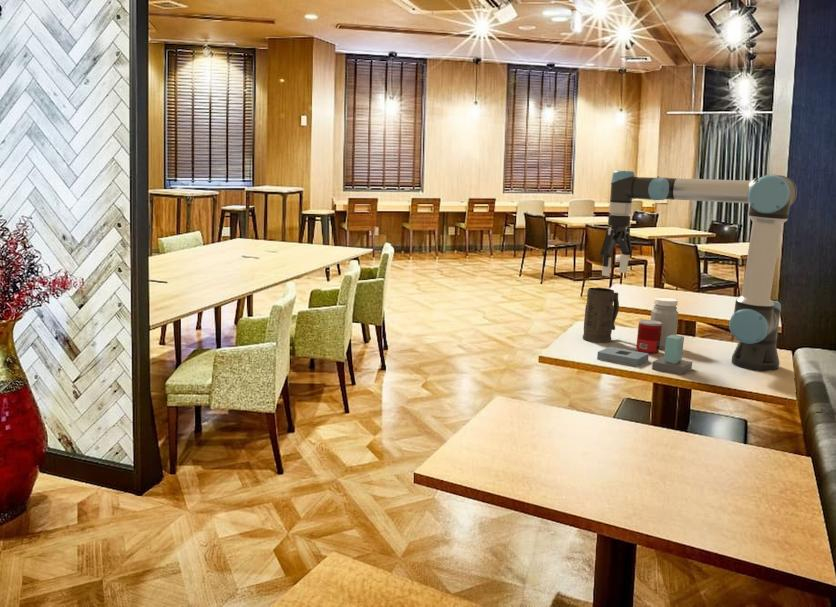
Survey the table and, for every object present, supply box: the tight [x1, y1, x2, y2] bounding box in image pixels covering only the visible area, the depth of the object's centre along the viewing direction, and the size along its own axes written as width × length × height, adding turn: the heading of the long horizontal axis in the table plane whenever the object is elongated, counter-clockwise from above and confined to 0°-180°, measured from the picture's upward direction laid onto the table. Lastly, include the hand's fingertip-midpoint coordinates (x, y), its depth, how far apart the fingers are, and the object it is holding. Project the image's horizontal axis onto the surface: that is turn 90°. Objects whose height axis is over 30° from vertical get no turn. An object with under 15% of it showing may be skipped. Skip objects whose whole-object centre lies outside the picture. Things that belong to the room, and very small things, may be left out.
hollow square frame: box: [651, 356, 693, 375], centre depth 260 cm, size 10×10×2 cm
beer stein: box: [582, 287, 620, 343], centre depth 299 cm, size 15×11×20 cm
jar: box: [650, 296, 679, 350], centre depth 291 cm, size 10×10×18 cm
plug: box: [663, 334, 685, 364], centre depth 259 cm, size 4×6×11 cm, turn 144°
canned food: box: [635, 319, 662, 355], centre depth 283 cm, size 8×8×11 cm
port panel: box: [596, 346, 650, 367], centre depth 269 cm, size 14×11×2 cm
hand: (614, 274), depth 281 cm, fingers open, 13 cm apart
